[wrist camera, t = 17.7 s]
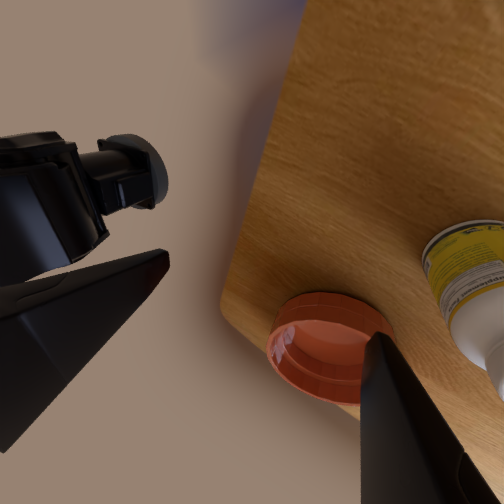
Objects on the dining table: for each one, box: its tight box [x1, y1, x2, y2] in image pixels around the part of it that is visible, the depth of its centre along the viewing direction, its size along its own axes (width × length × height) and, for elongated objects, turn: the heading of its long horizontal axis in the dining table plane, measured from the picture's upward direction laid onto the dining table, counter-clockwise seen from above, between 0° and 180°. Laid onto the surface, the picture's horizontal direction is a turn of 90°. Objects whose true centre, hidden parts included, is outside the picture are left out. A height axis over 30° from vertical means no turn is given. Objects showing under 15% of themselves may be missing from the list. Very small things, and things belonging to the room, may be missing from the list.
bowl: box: [266, 292, 397, 407], centre depth 25 cm, size 13×13×4 cm
